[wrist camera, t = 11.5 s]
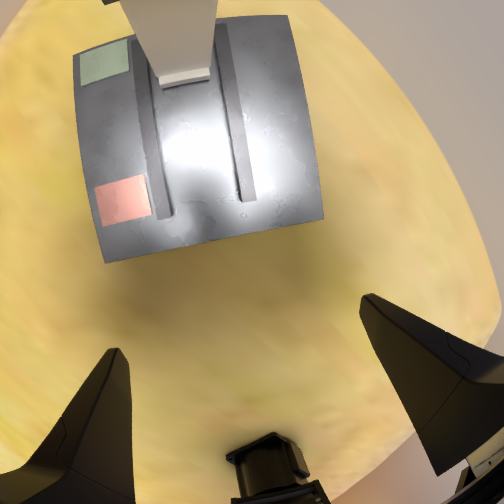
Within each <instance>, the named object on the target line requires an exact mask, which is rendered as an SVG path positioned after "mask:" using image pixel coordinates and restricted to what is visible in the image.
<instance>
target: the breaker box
mask: <svg viewBox="0 0 504 504" xmlns="http://www.w3.org/2000/svg"><path fill="white" fill-rule="evenodd" d="M209 71H210V79H209V80H203V81H197V82H191V83H186V84H181V85H176V86H171V87H167V88H162V89H161V87H160V85H159V77H156V75H155V73H154V71H153V69H152V67H151V65H150V63H149V61H148V59H147V57H146V55H145V53H144V51H143V49H142V47H141V45H140V43H139V41H138V39H137V37H136V35H135V34H134V35H130V36H127V37H123V38H120V39H117V40H114V41H111V42H108V43H105V44H102V45H99V46H96V47H93V48H90V49H88V50H85V51H82V52H80V53H77V54H75V55H73V81H74V99H75V111H76V122H77V131H78V139H79V146H80V153H81V160H82V166H83V172H84V177H85V183H86V188H87V193H88V198H89V203H90V207H91V212H92V216H93V220H94V224H95V228H96V232H97V236H98V240H99V244H100V247H101V251H102V255H103V258H104V261H105V264H106V263H111V262H115V261H120V260H124V259H129V258H133V257H138V256H143V255H147V254H152V253H157V252H161V251H166V250H171V249H176V248H180V247H185V246H190V245H195V244H200V243H204V242H209V241H214V240H219V239H224V238H229V237H234V236H239V235H244V234H249V233H254V232H259V231H264V230H270V229H275V228H280V227H285V226H290V225H296V224H301V223H306V222H312V221H317V220H322V219H324V214H323V205H322V197H321V189H320V181H319V174H318V166H317V159H316V153H315V146H314V140H313V134H312V128H311V122H310V116H309V111H308V105H307V100H306V95H305V89H304V84H303V80H302V75H301V70H300V65H299V61H298V56H297V52H296V48H295V43H294V39H293V35H292V31H291V27H290V23H289V19H288V16H287V15H257V16H239V17H227V18H218V19H216V20H215V29H214V38H213V48H212V58H211V67H209Z"/></svg>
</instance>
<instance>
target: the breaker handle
mask: <svg viewBox="0 0 504 504" xmlns="http://www.w3.org/2000/svg"><path fill="white" fill-rule="evenodd" d="M117 1H119V2H120V4H121V6H122V8H123V10H124V12H125V14H126V16H127V18H128V20H129V22H130V24H131V26H132V28H133V30H134V33H135V35H136V37H137V39H138V41H139V43H140V45H141V47H142V49H143V51H144V53H145V55H146V57H147V59H148V61H149V63H150V65H151V67H152V69H153V71H154V73H155V75H156V77H159V85H160V87H161V89H162V88H167V87H171V86H176V85H181V84H186V83H191V82H197V81H203V80H209V79H210V71H209V67H211V58H212V48H213V38H214V29H215V20H216V12H217V4H218V0H102V2H103V3H104V5H107V4H110V3H114V2H117Z"/></svg>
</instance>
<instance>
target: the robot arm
mask: <svg viewBox="0 0 504 504" xmlns="http://www.w3.org/2000/svg"><path fill="white" fill-rule="evenodd" d="M359 315H360V318H361V320H362V323H363V325H364V328H365V330H366V332H367V335H368V337H369V339H370V342H371V344H372V347H373V349H374V351H375V353H376V355H377V357H378V358H379V360H380V362H381V364H382V366H383V368H384V369H385V371H386V373H387V375H388V377H389V379H390V381H391V383H392V385H393V386H394V388H395V390H396V392H397V394H398V396H399V398H400V400H401V402H402V404H403V406H404V408H405V410H406V412H407V414H408V416H409V418H410V420H411V422H412V424H413V426H414V428H415V430H416V432H417V434H418V436H419V439H420V440H421V443H422V445H423V447H424V449H425V451H426V454H427V456H428V458H429V460H430V462H431V465H432V467H433V469H434V471H435V473H436V475H437V476H440V475H441V474H443V473H444V472H446V471H447V470H449V469H450V468H452V467H453V466H455V465H456V464H458V463H459V462H461V461H462V460H463V459H466V460H467V462H468V464H469V466H468V467H466V468H465V469H464V470H462V472H461V476H460V479H459V482H458V485H457V488H456V491H455V494H454V495H453V496H452V497H450V498H449V499H448V500H446V501H444V502H443V503H441V504H504V357H503V356H499V355H497V354H494V353H492V352H489V351H487V350H485V349H482V348H480V347H477V346H475V345H473V344H471V343H468V342H466V341H464V340H462V339H460V338H458V337H456V336H454V335H452V334H450V333H448V332H445V331H444V330H443V329H441V328H439V327H437V326H435V325H433V324H431V323H429V322H427V321H426V320H424V319H422V318H420V317H418V316H416V315H414V314H412V313H410V312H408V311H406V310H405V309H403V308H401V307H399V306H397V305H395V304H393V303H391V302H389V301H387V300H385V299H383V298H381V297H379V296H377V295H376V294H373V293H369V294H366V295H363V296H362V298H361V304H360V310H359ZM226 460H227V461H228V462H230V463H232V464H234V465H235V468H236V474H237V480H238V485H239V491H240V496H241V498H231V504H331V503H330V501H329V499H328V497H327V496H326V494H325V492H324V490H323V488H322V486H321V484H320V482H319V480H318V479H317V480H314V481H312V482H310V483H308V481H307V479H306V478H308V477H309V476H310V473H309V470H308V468H307V465H306V463H305V460H304V457H303V454H302V451H301V449H300V448H298V447H297V446H296V445H294V444H293V443H291V442H290V441H286V440H285V439H284V438H282V437H281V436H280V435H278V434H277V433H272V434H270V435H268V436H266V437H264V438H262V439H260V440H258V441H256V442H254V443H252V444H250V445H248V446H245V447H243V448H241V449H239V450H237V451H235V452H232V453H230V454H228V455H226ZM0 504H136V502H135V490H134V477H133V457H132V397H131V385H130V371H129V363H128V361H127V359H126V358H125V356H124V355H123V353H122V352H121V350H120V349H119V348H110V349H108V350H107V351H106V352H105V354H104V355H103V356H102V358H101V359H100V361H99V362H98V363H97V365H96V366H95V367H94V369H93V370H92V372H91V373H90V374H89V376H88V377H87V379H86V380H85V382H84V383H83V384H82V386H81V387H80V389H79V390H78V392H77V393H76V394H75V396H74V397H73V399H72V400H71V402H70V403H69V405H68V406H67V408H66V409H65V411H64V412H63V414H62V417H60V418H59V420H58V421H57V423H56V424H55V426H54V427H53V428H52V430H51V431H50V433H49V434H48V436H47V437H46V438H45V439H44V441H43V442H42V443H41V445H40V446H39V447H38V449H37V450H36V451H35V452H34V454H33V455H32V456H31V457H30V459H29V460H28V461H27V462H26V463H25V464H24V465H23V466H22V467H20V468H18V469H16V470H13V471H10V472H7V473H4V474H0Z"/></svg>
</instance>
